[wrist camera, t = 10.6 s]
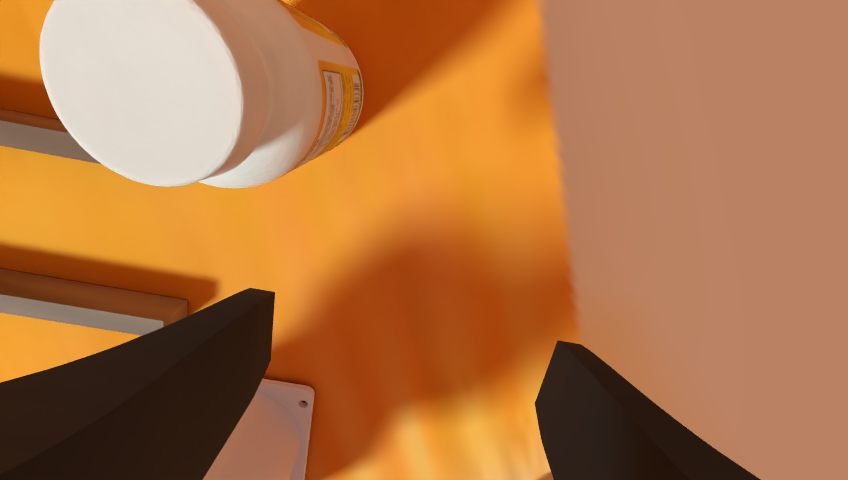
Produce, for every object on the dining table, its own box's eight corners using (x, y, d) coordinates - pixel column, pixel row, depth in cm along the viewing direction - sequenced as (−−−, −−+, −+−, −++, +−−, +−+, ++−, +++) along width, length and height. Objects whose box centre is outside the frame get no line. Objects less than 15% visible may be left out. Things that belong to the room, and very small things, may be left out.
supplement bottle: (387, 123, 17) (330, 163, 8) (280, 172, 18) (124, 257, 9) (326, -10, 15) (169, -145, 6) (212, 52, 16) (-63, 10, 7)
